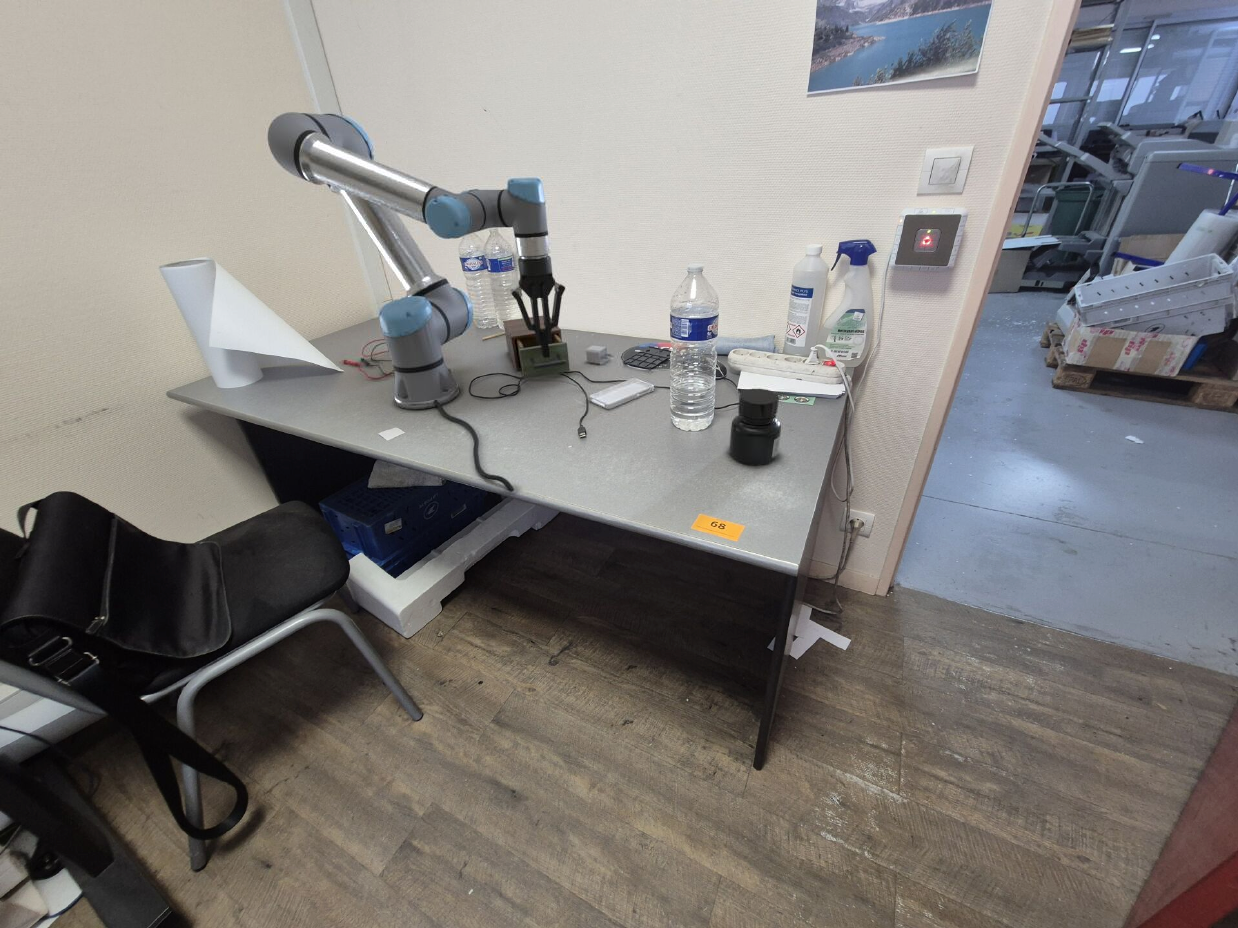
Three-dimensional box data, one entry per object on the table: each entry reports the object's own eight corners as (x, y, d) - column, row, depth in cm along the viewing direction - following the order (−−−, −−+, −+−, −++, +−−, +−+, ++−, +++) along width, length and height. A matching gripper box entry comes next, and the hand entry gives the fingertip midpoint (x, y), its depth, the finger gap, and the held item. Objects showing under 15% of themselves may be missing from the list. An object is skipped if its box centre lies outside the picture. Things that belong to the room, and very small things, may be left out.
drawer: (576, 379, 129) (573, 350, 125) (528, 388, 126) (523, 358, 122) (557, 353, 147) (554, 327, 143) (515, 360, 144) (510, 333, 140)
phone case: (634, 382, 128) (588, 401, 120) (634, 377, 127) (588, 395, 119) (655, 390, 123) (608, 410, 115) (654, 385, 122) (608, 404, 114)
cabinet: (564, 363, 142) (560, 329, 137) (516, 370, 139) (511, 336, 134) (552, 345, 156) (548, 314, 151) (508, 352, 153) (503, 321, 147)
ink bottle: (786, 463, 92) (795, 404, 86) (741, 470, 91) (747, 411, 85) (763, 438, 100) (769, 382, 94) (721, 445, 99) (725, 388, 93)
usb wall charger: (594, 358, 144) (593, 344, 142) (615, 361, 141) (614, 348, 139) (587, 363, 142) (586, 349, 139) (608, 366, 138) (607, 352, 136)
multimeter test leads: (412, 330, 162) (442, 347, 145) (416, 343, 165) (446, 362, 148) (335, 347, 150) (358, 369, 133) (340, 362, 153) (363, 385, 136)
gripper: (558, 251, 118) (567, 347, 131) (502, 256, 115) (517, 354, 128) (565, 256, 112) (574, 356, 125) (507, 261, 109) (522, 364, 122)
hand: (545, 355), depth 126 cm, fingers closed
